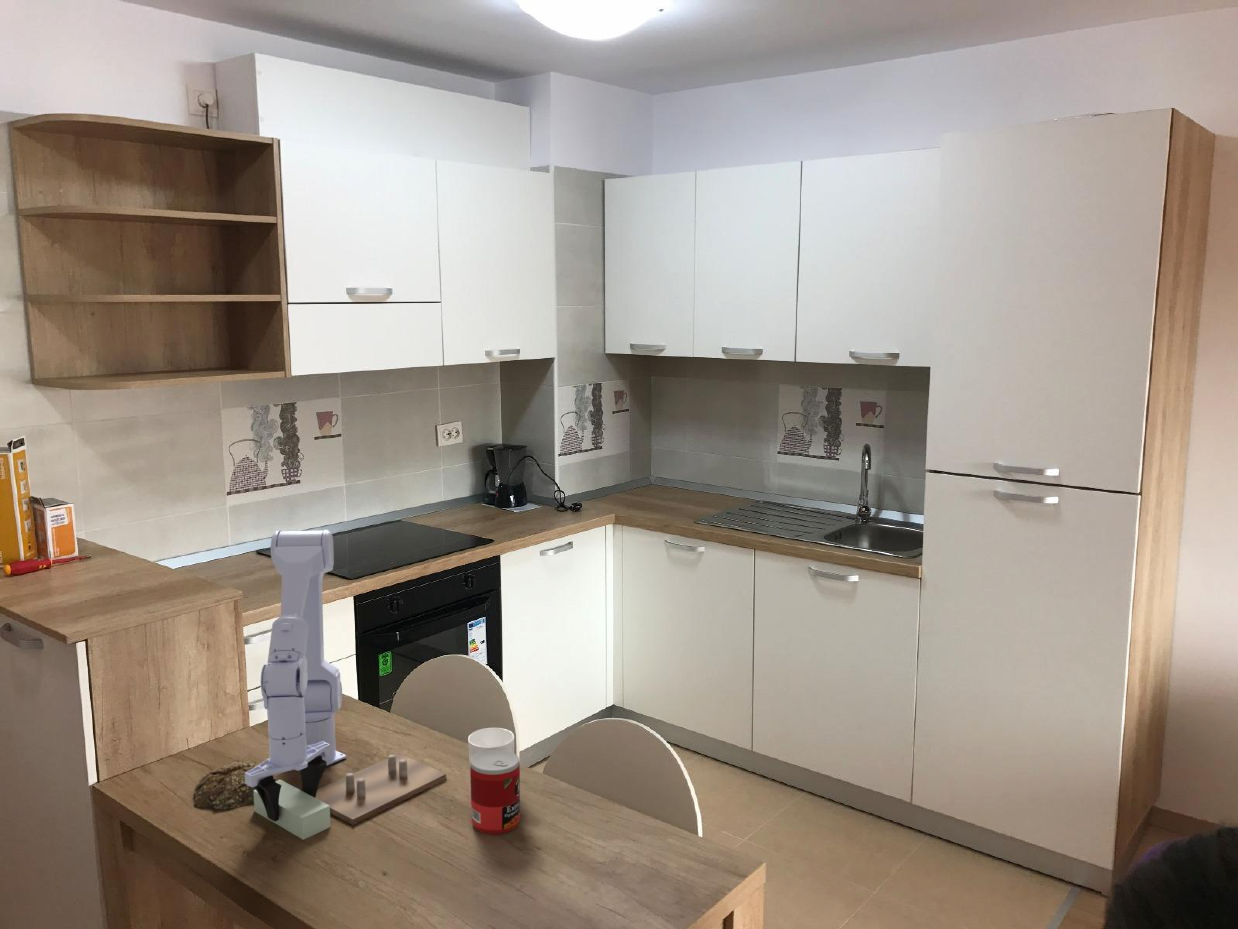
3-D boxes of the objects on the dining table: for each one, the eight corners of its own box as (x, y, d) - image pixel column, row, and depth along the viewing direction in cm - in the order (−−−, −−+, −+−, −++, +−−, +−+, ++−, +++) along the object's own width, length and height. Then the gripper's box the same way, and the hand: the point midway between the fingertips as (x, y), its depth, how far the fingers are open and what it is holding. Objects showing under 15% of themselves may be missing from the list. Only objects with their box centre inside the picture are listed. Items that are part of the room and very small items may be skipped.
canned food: (512, 838, 156) (511, 773, 154) (464, 832, 158) (462, 768, 156) (526, 813, 163) (525, 751, 162) (480, 808, 165) (479, 747, 163)
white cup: (492, 807, 165) (491, 751, 164) (459, 793, 170) (458, 739, 168) (524, 789, 172) (523, 735, 170) (491, 776, 176) (490, 723, 175)
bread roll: (263, 770, 179) (261, 744, 178) (280, 799, 169) (278, 772, 168) (187, 788, 172) (185, 761, 171) (200, 819, 162) (198, 791, 161)
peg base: (305, 800, 168) (304, 778, 167) (398, 758, 183) (398, 738, 182) (353, 825, 160) (352, 802, 159) (446, 779, 175) (445, 758, 174)
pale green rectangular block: (254, 813, 164) (253, 790, 163) (281, 801, 168) (280, 779, 167) (303, 841, 155) (302, 818, 155) (330, 828, 159) (329, 805, 158)
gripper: (260, 755, 151) (265, 837, 153) (340, 724, 162) (343, 801, 164) (235, 742, 155) (240, 822, 157) (314, 713, 167) (318, 788, 169)
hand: (291, 810), depth 161 cm, fingers open, 6 cm apart
